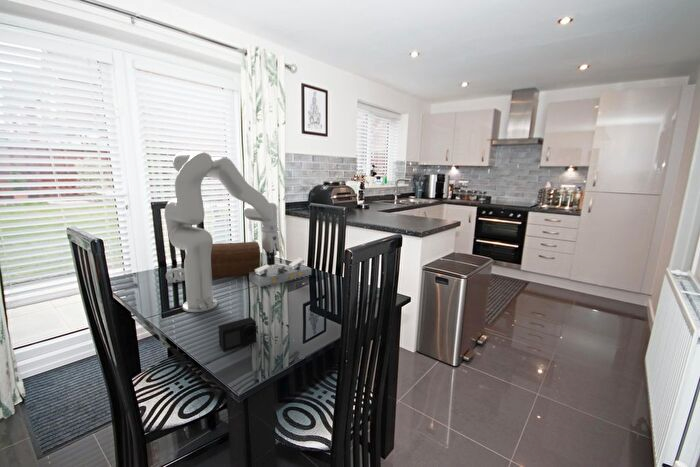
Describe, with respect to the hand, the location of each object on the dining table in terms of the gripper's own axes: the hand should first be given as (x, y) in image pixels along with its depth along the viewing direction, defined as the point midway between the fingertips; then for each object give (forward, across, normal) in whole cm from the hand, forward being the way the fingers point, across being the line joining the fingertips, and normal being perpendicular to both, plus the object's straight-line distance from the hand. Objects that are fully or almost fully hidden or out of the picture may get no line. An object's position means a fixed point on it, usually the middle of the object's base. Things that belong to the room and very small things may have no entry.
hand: (271, 264), depth 157 cm
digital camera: (+7, -49, +36) cm, 62 cm away
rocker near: (+2, 0, +4) cm, 5 cm away
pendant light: (+7, +25, +37) cm, 45 cm away
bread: (+8, +24, +12) cm, 28 cm away
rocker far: (+3, 0, -15) cm, 15 cm away
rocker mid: (+2, 0, -5) cm, 6 cm away
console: (+8, 0, -5) cm, 10 cm away
